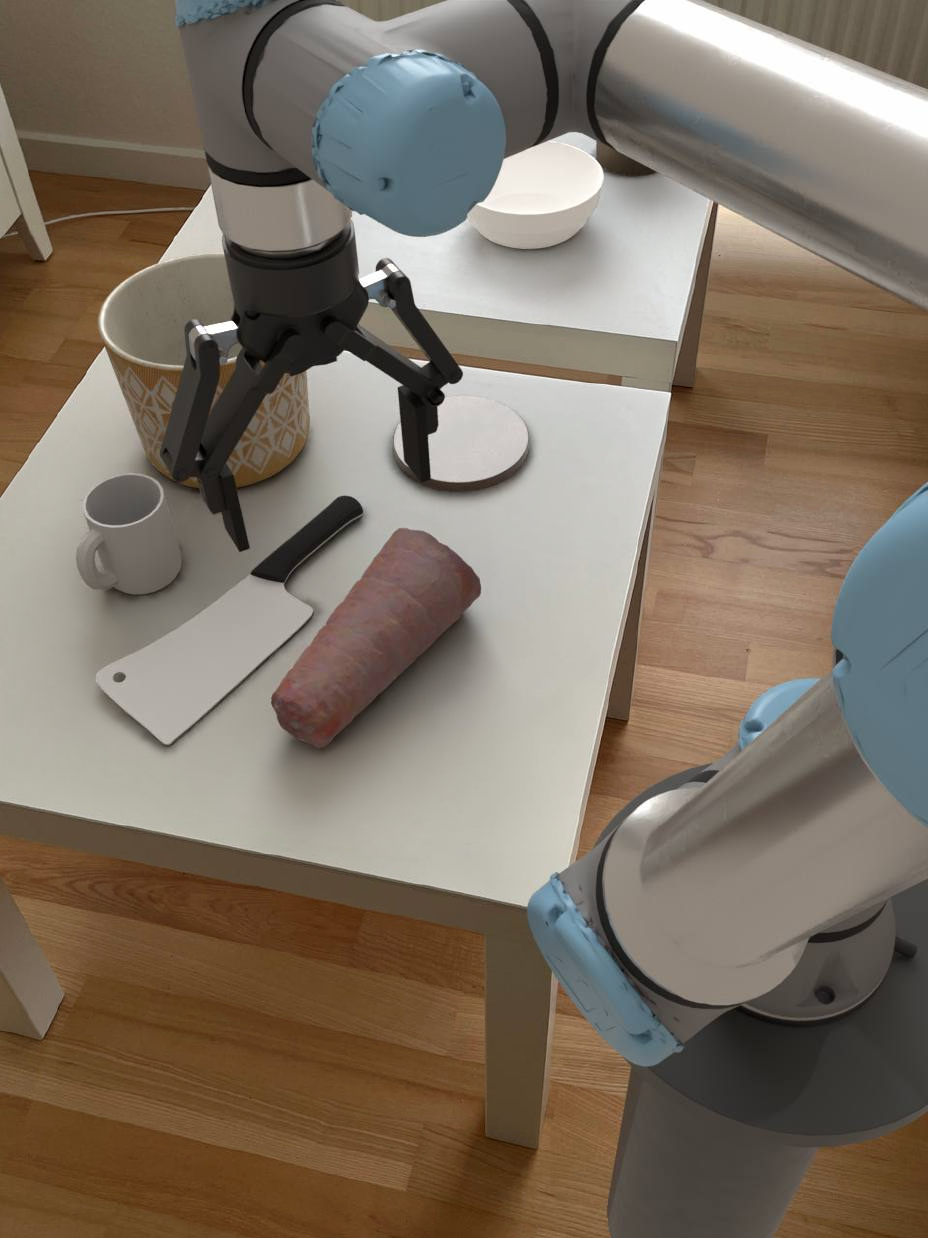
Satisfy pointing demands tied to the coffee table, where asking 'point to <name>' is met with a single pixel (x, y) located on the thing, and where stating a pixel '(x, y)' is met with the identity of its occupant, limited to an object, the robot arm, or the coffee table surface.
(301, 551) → the kitchen cleaver
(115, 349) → the planter
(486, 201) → the bowl
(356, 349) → the robot arm
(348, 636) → the food
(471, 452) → the cake board
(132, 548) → the cup
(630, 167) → the pillar candle
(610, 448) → the coffee table surface
